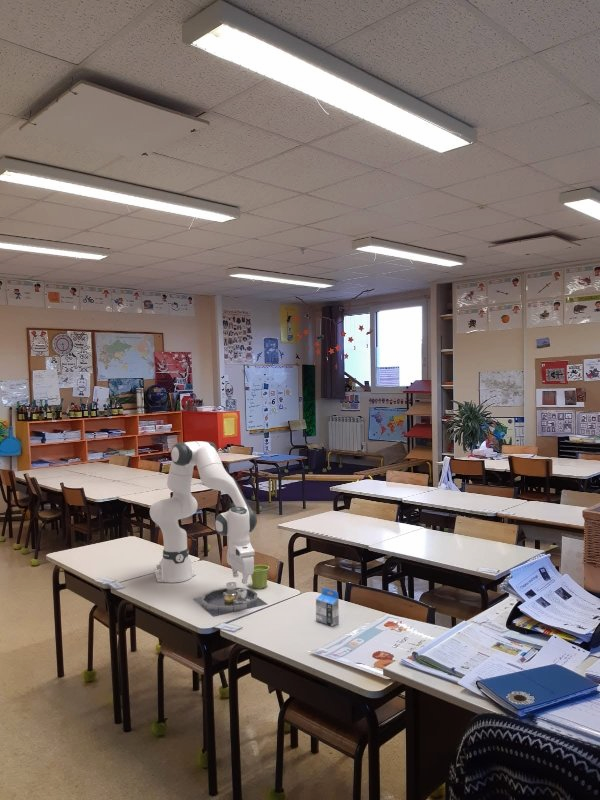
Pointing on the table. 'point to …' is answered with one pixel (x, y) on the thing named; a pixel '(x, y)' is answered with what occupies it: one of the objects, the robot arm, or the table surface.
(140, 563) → the table surface
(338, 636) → the table surface
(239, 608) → the carrier
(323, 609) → the label tape box
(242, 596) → the planet gear
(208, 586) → the table surface
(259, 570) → the plant pot
